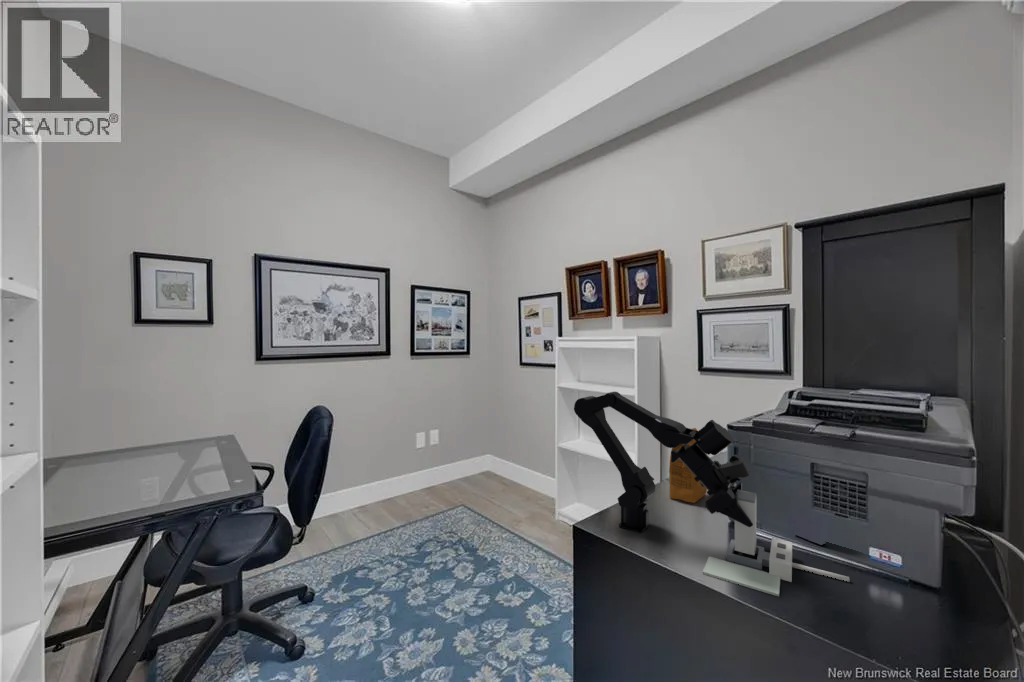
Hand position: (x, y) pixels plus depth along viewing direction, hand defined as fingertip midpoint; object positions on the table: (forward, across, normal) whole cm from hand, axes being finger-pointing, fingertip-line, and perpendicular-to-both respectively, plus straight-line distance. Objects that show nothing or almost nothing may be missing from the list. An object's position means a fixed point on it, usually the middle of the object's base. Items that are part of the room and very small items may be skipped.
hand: (752, 521), depth 96 cm
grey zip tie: (+11, 0, +2) cm, 11 cm away
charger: (+4, 0, +6) cm, 7 cm away
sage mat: (+5, -10, +7) cm, 13 cm away
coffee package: (-8, +31, +21) cm, 38 cm away
